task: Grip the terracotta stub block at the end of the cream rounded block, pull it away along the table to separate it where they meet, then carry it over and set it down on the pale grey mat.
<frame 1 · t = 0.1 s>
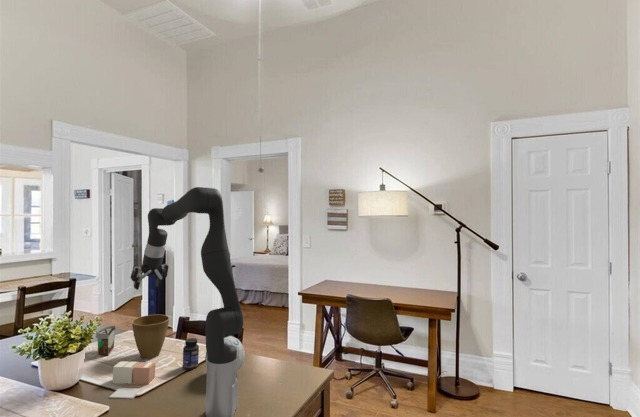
hand: (147, 287, 148), 31 cm above the table, tool tilted 20°, fingers open, 8 cm apart
pill bottle: (190, 367, 142), on the table
puzzle ball: (224, 375, 136), on the table
plant pot: (149, 356, 153), on the table
cream rounded block: (125, 380, 130), on the table
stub: (143, 381, 130), on the table
food container: (103, 352, 155), on the table
mat: (125, 393, 120), on the table
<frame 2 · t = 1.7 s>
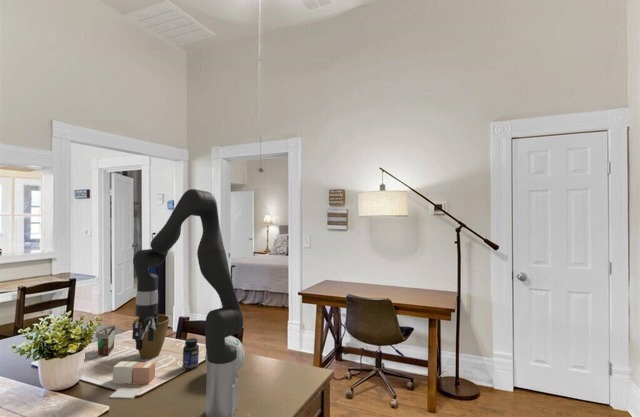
hand: (145, 344, 130), 13 cm above the table, tool pointing down, fingers open, 8 cm apart
nothing on the table moved.
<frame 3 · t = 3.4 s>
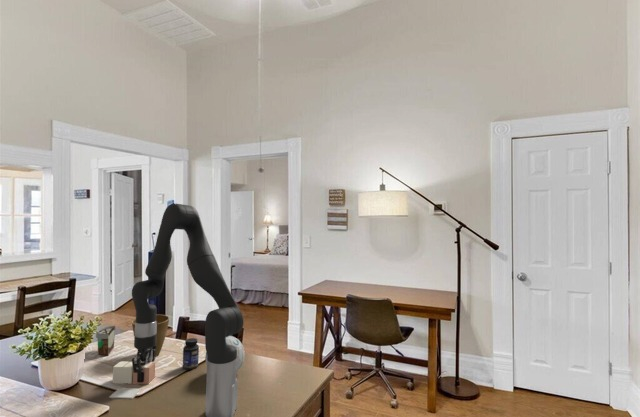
hand: (144, 378, 130), 1 cm above the table, tool pointing down, fingers closed on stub, 4 cm apart
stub: (143, 381, 130), on the table, touching gripper
everything else where it was.
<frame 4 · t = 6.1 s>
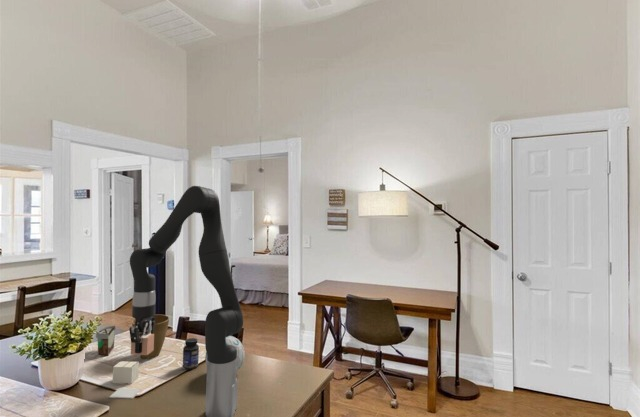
hand: (142, 349, 125), 13 cm above the table, tool pointing down, fingers closed on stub, 4 cm apart
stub: (142, 352, 125), point 12 cm above the table, touching gripper
everything else where it was.
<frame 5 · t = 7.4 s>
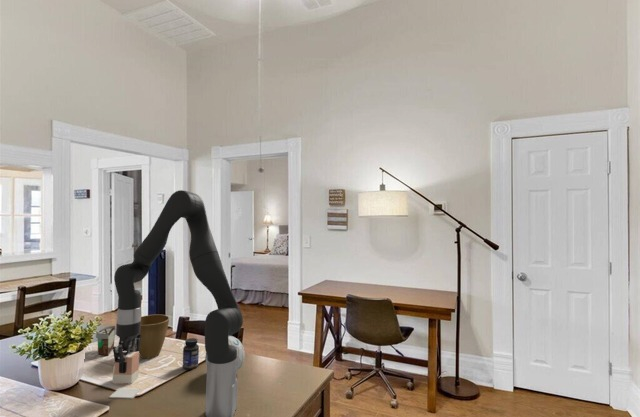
hand: (126, 369, 120), 8 cm above the table, tool pointing down, fingers closed on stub, 4 cm apart
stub: (126, 371, 120), point 8 cm above the table, touching gripper
everything else where it was.
when the fingers open (3 cm above the table, at t = 8.8 s): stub drops 2 cm, resting on mat.
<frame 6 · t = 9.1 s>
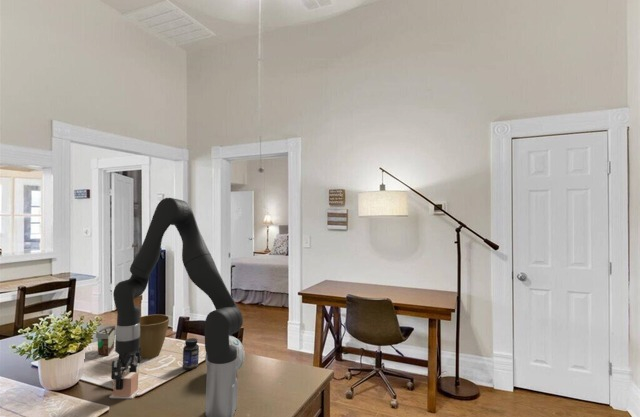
hand: (126, 383, 120), 4 cm above the table, tool pointing down, fingers open, 7 cm apart
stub: (125, 392, 120), resting on mat
everything else where it was.
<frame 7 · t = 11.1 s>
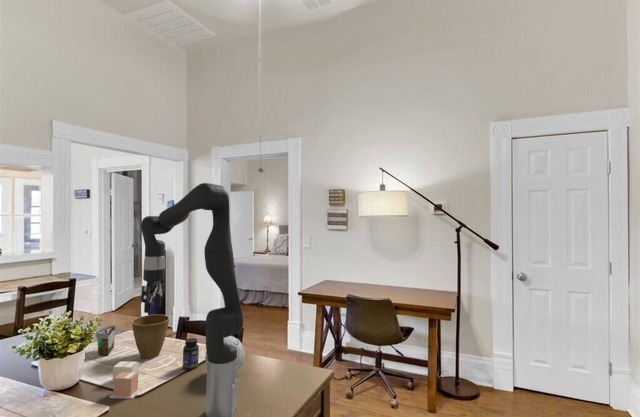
hand: (152, 309, 133), 26 cm above the table, tool pointing down, fingers open, 8 cm apart
nothing on the table moved.
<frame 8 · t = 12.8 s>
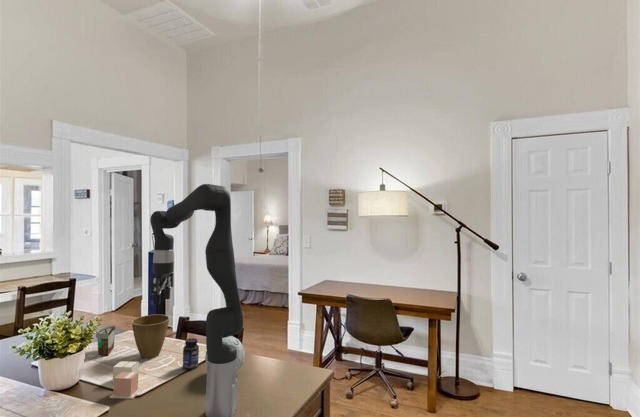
hand: (162, 301, 137), 28 cm above the table, tool pointing down, fingers open, 8 cm apart
nothing on the table moved.
at the end: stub inside the target area on the mat (0.1 cm from its centre), point 0.4 cm above the mat's base; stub moved 9.7 cm from its start; the gripper is holding nothing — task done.
